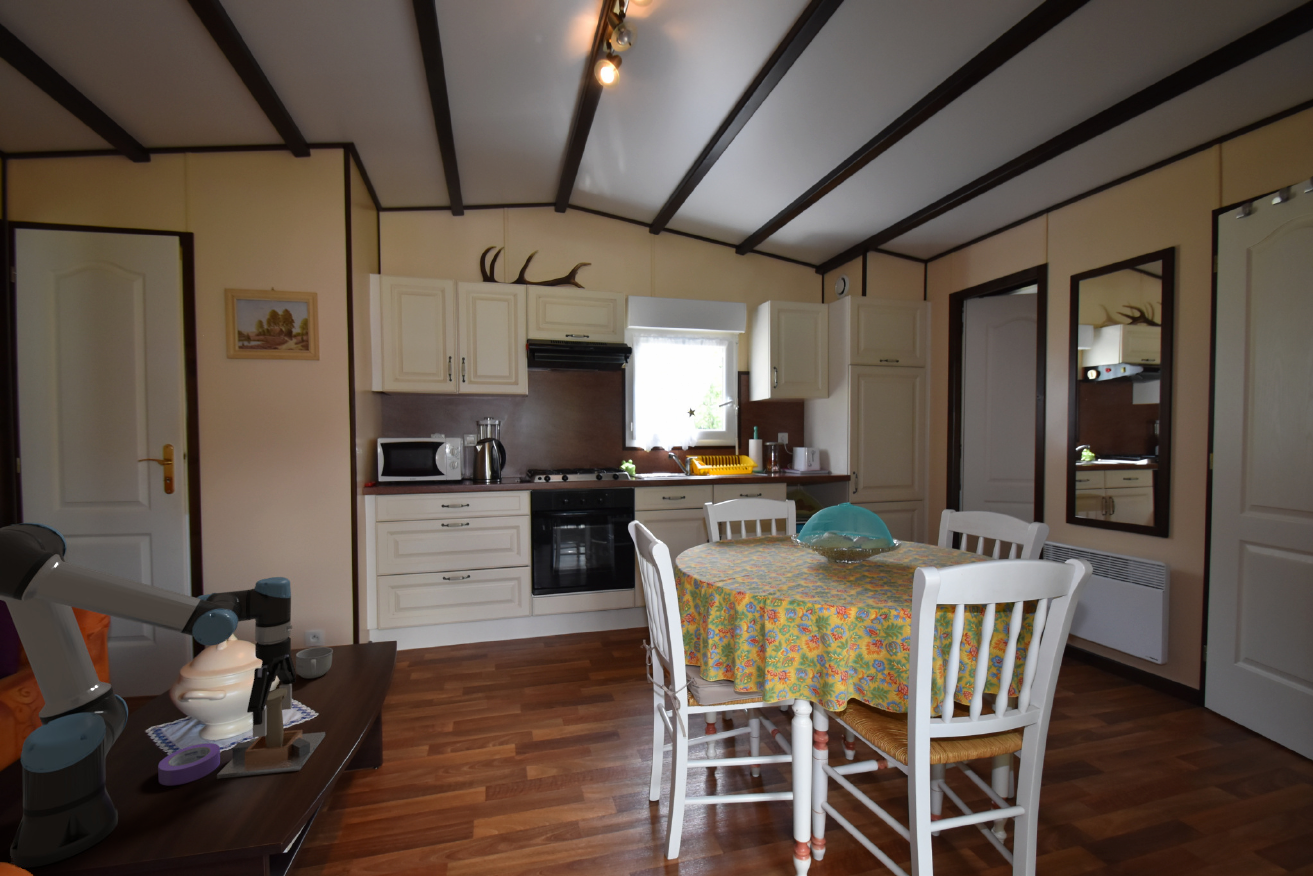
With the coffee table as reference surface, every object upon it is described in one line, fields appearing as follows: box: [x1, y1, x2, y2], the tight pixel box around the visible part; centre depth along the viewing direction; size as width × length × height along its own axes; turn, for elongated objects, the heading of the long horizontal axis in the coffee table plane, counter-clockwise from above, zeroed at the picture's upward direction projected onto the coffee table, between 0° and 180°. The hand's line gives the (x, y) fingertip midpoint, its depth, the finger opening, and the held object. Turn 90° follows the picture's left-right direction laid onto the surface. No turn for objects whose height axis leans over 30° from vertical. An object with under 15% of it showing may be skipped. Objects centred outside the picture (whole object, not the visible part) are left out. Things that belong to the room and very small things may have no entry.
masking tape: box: [157, 742, 221, 787], centre depth 138 cm, size 12×12×4 cm
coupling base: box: [216, 729, 326, 780], centre depth 144 cm, size 18×16×4 cm
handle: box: [265, 688, 287, 748], centre depth 144 cm, size 5×6×15 cm
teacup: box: [295, 646, 334, 679], centre depth 191 cm, size 14×11×8 cm
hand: (273, 722), depth 144 cm, fingers open, 13 cm apart
